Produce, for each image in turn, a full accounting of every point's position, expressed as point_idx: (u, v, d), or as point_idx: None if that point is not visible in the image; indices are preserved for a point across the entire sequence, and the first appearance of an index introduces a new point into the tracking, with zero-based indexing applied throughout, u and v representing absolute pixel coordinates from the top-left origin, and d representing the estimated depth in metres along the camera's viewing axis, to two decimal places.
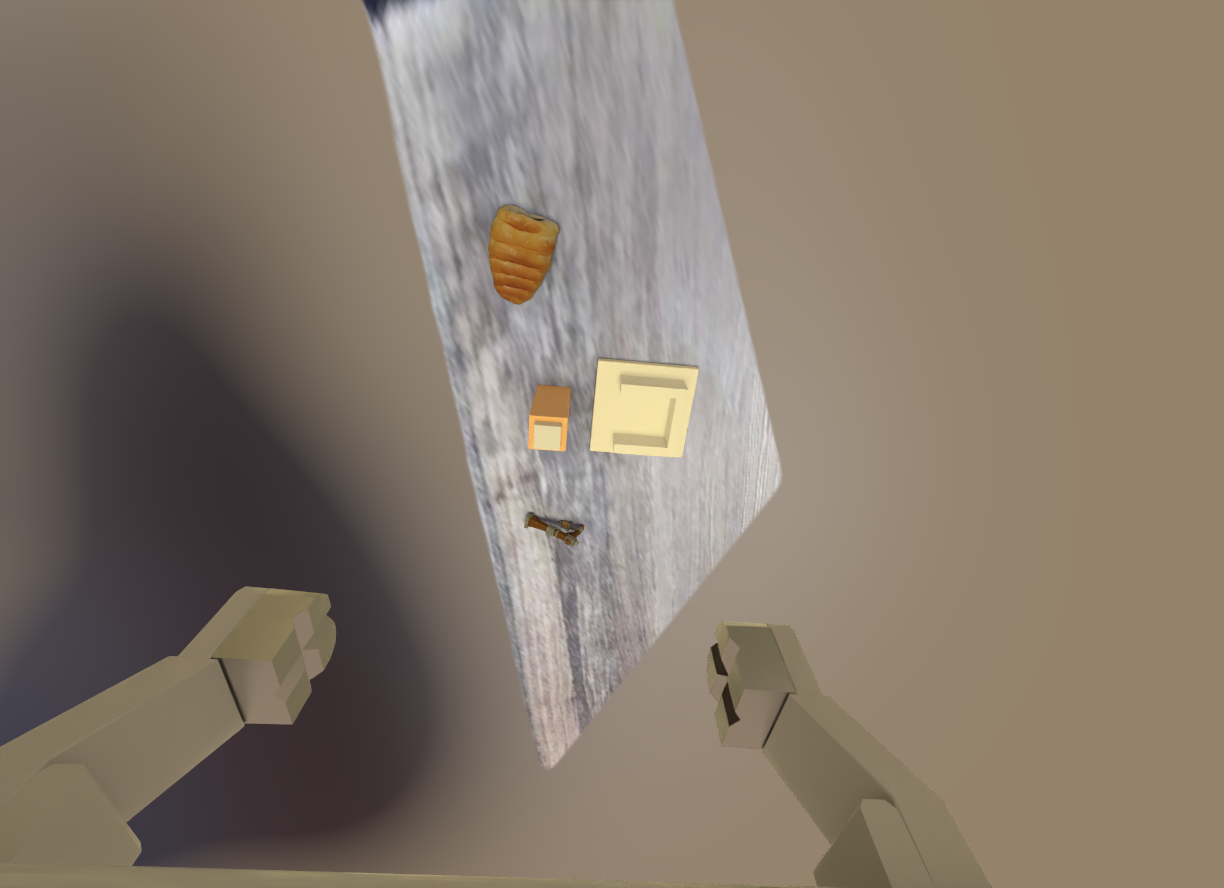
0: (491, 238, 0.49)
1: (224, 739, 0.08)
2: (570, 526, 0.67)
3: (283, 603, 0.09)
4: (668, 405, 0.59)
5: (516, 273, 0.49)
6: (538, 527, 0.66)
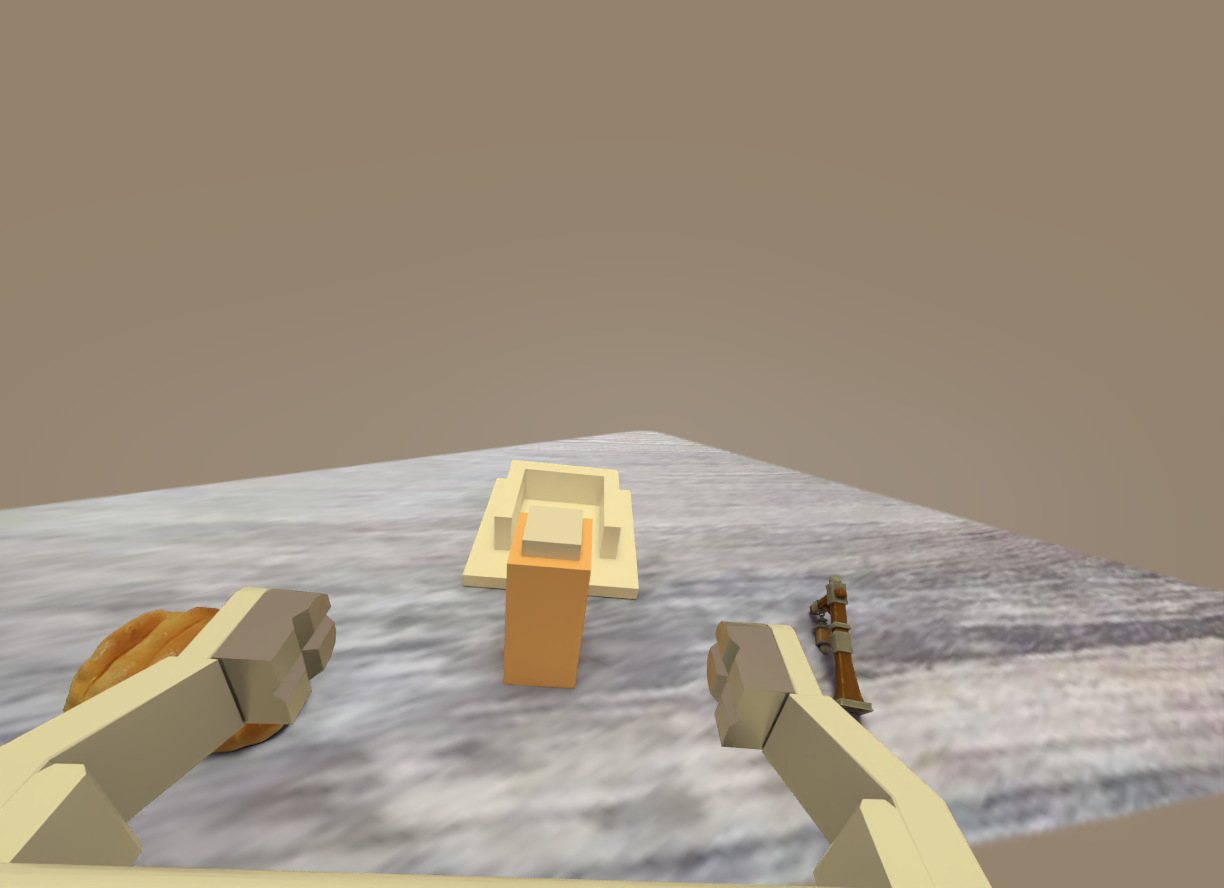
0: None
1: (224, 739, 0.08)
2: (820, 624, 0.32)
3: (283, 603, 0.09)
4: (549, 502, 0.41)
5: None
6: (851, 673, 0.28)
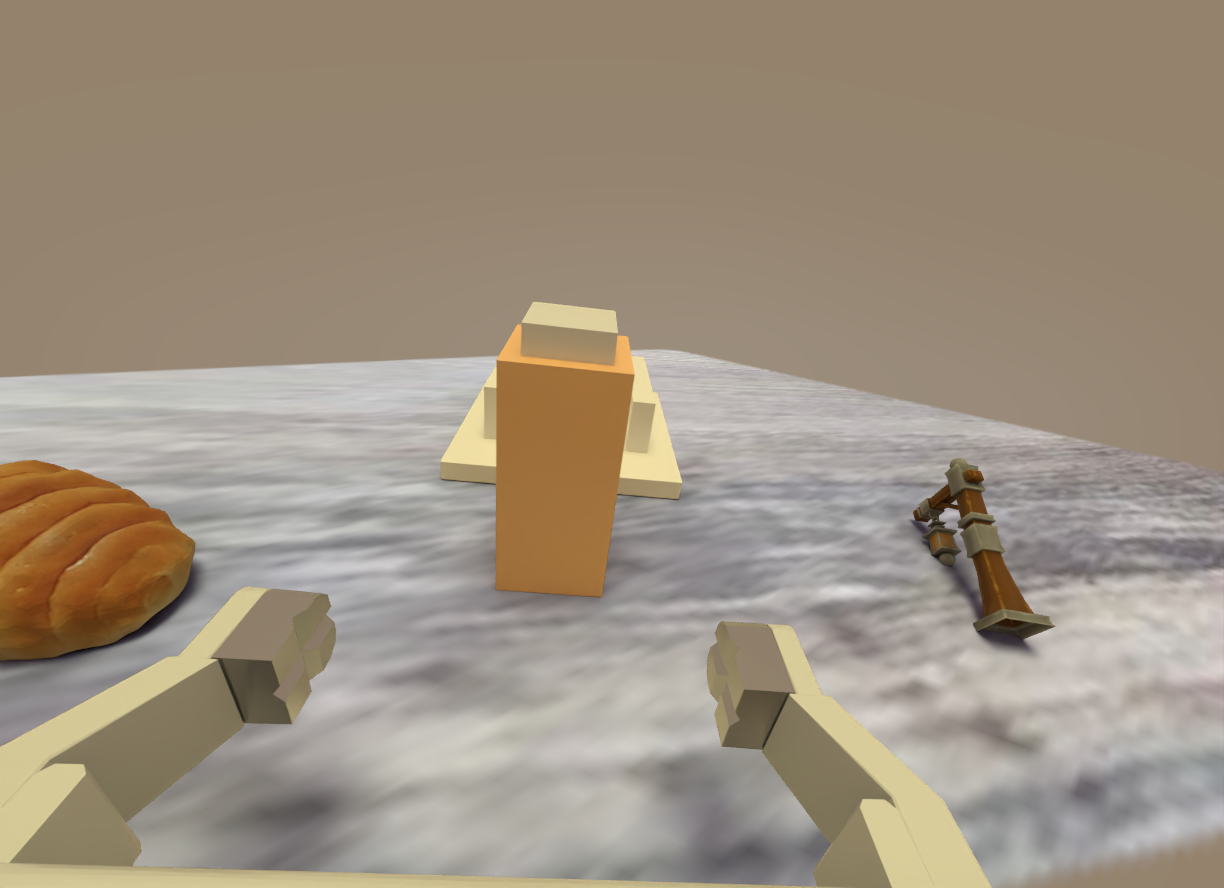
0: None
1: (224, 739, 0.08)
2: None
3: (283, 603, 0.09)
4: None
5: (48, 518, 0.15)
6: (1007, 578, 0.19)
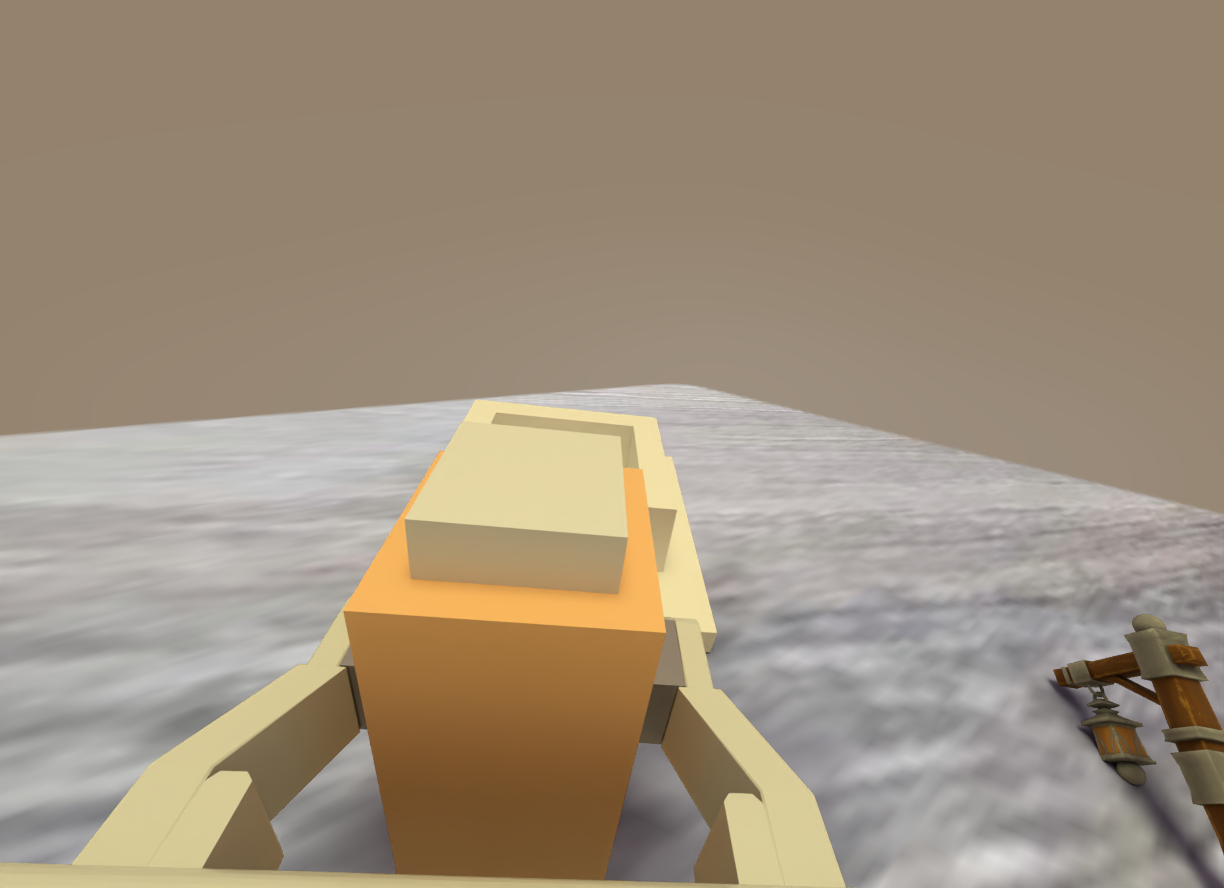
0: None
1: (344, 745, 0.08)
2: (1105, 714, 0.15)
3: None
4: None
5: None
6: None
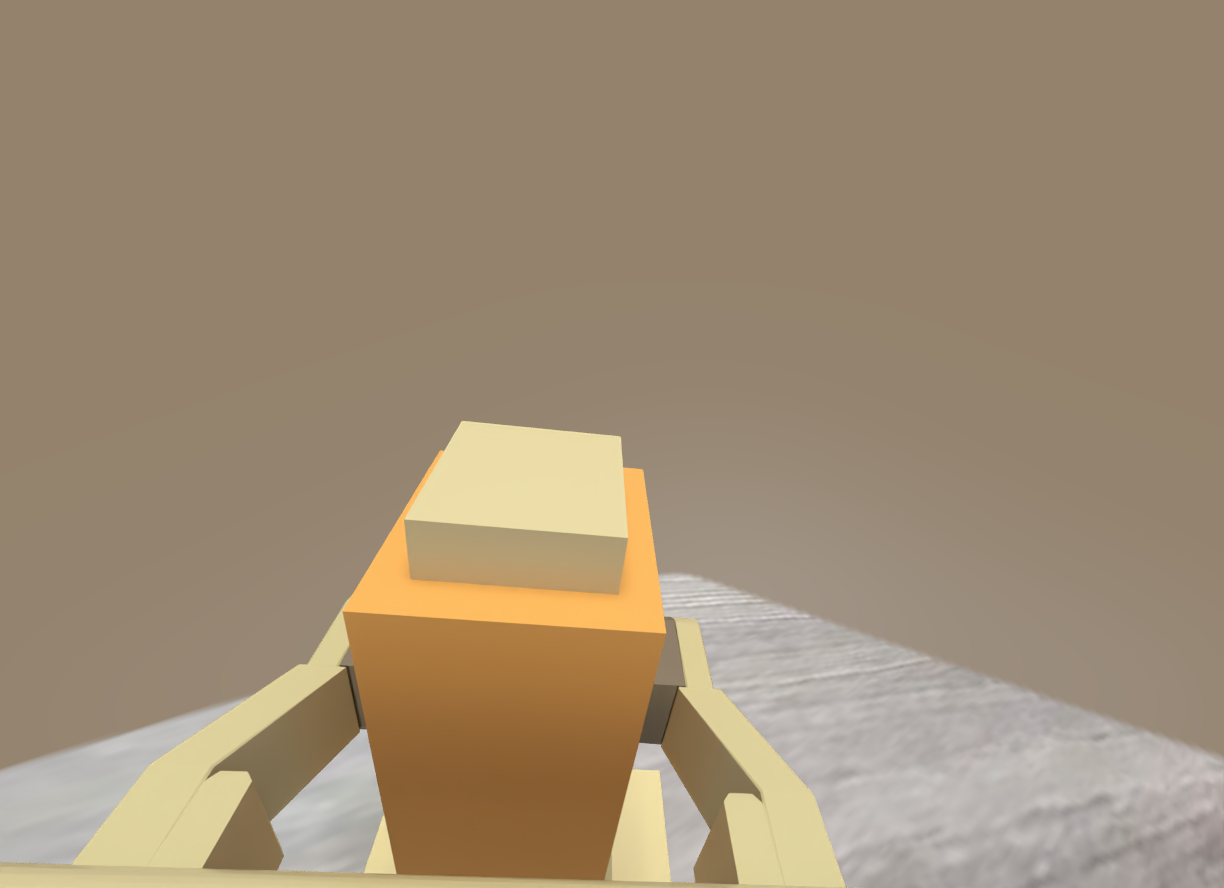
0: None
1: (344, 745, 0.08)
2: None
3: None
4: None
5: None
6: None
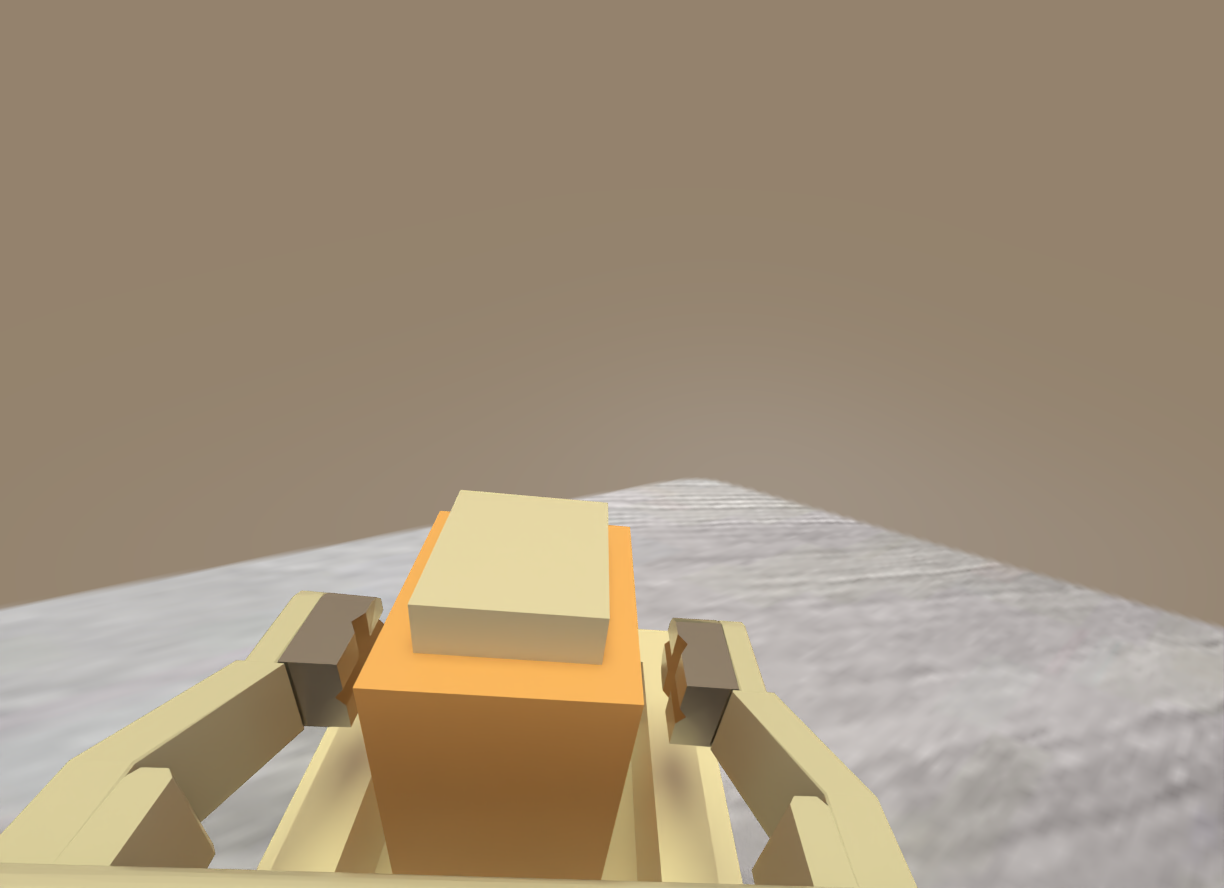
0: None
1: (286, 742, 0.08)
2: None
3: (341, 607, 0.09)
4: None
5: None
6: None
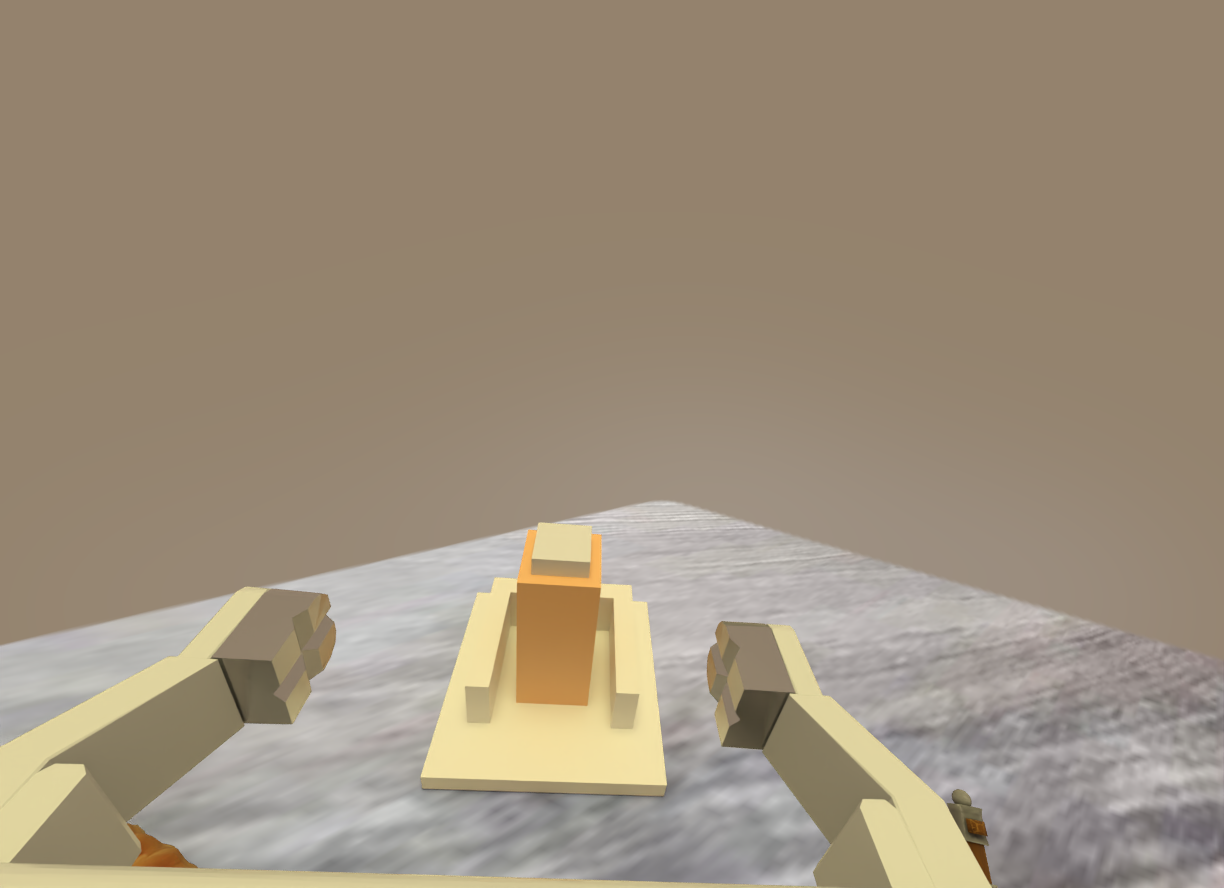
0: None
1: (224, 739, 0.08)
2: None
3: (283, 603, 0.09)
4: None
5: None
6: None
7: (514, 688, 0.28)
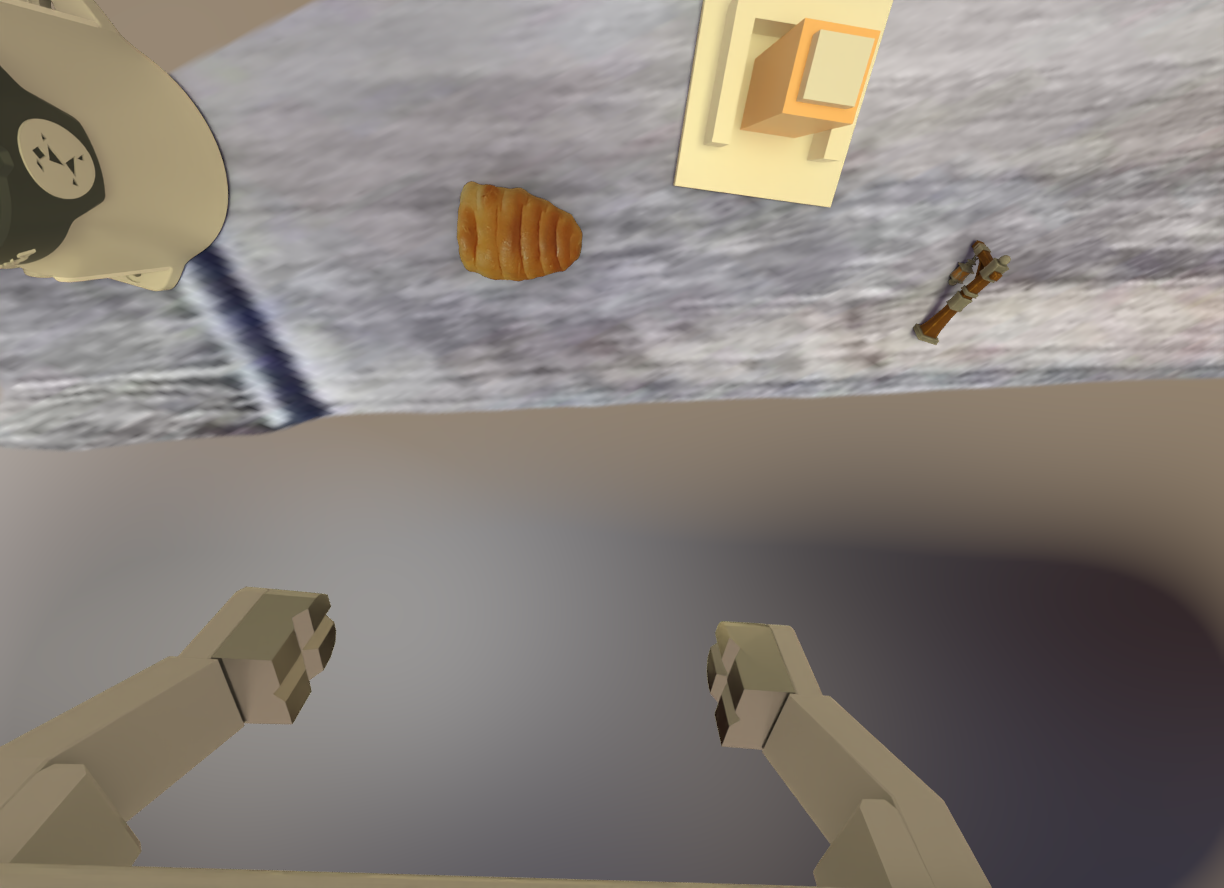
0: (503, 277, 0.37)
1: (224, 739, 0.08)
2: (966, 266, 0.39)
3: (283, 603, 0.09)
4: (773, 39, 0.32)
5: (534, 238, 0.35)
6: (944, 322, 0.40)
7: (739, 114, 0.33)
